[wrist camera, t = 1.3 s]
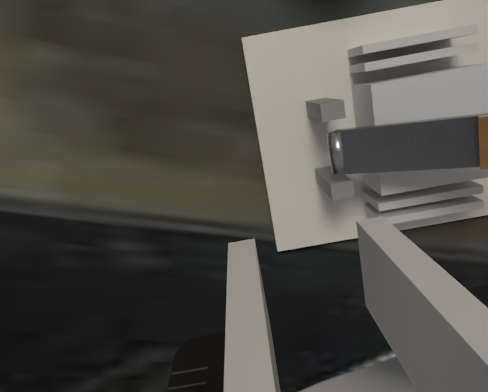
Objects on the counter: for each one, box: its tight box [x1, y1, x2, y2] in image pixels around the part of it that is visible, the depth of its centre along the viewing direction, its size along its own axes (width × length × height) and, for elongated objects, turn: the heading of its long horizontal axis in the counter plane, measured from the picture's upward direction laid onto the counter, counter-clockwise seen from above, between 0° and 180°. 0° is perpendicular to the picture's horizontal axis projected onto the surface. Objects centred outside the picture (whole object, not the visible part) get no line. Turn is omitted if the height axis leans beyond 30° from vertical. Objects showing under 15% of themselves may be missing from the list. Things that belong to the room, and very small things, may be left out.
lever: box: [327, 113, 488, 174], centre depth 26 cm, size 14×3×2 cm
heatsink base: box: [241, 0, 488, 252], centre depth 31 cm, size 24×18×9 cm
